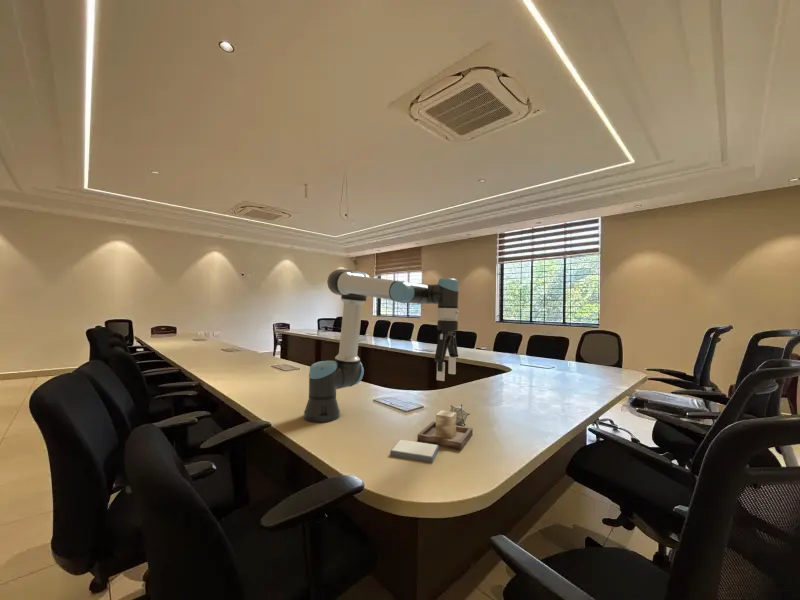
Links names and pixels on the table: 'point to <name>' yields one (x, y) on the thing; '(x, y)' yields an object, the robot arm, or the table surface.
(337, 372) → the robot arm
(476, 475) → the table surface
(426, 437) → the walnut tray
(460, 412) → the game die
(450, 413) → the beech block
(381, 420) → the table surface
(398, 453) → the white grey flat slab
